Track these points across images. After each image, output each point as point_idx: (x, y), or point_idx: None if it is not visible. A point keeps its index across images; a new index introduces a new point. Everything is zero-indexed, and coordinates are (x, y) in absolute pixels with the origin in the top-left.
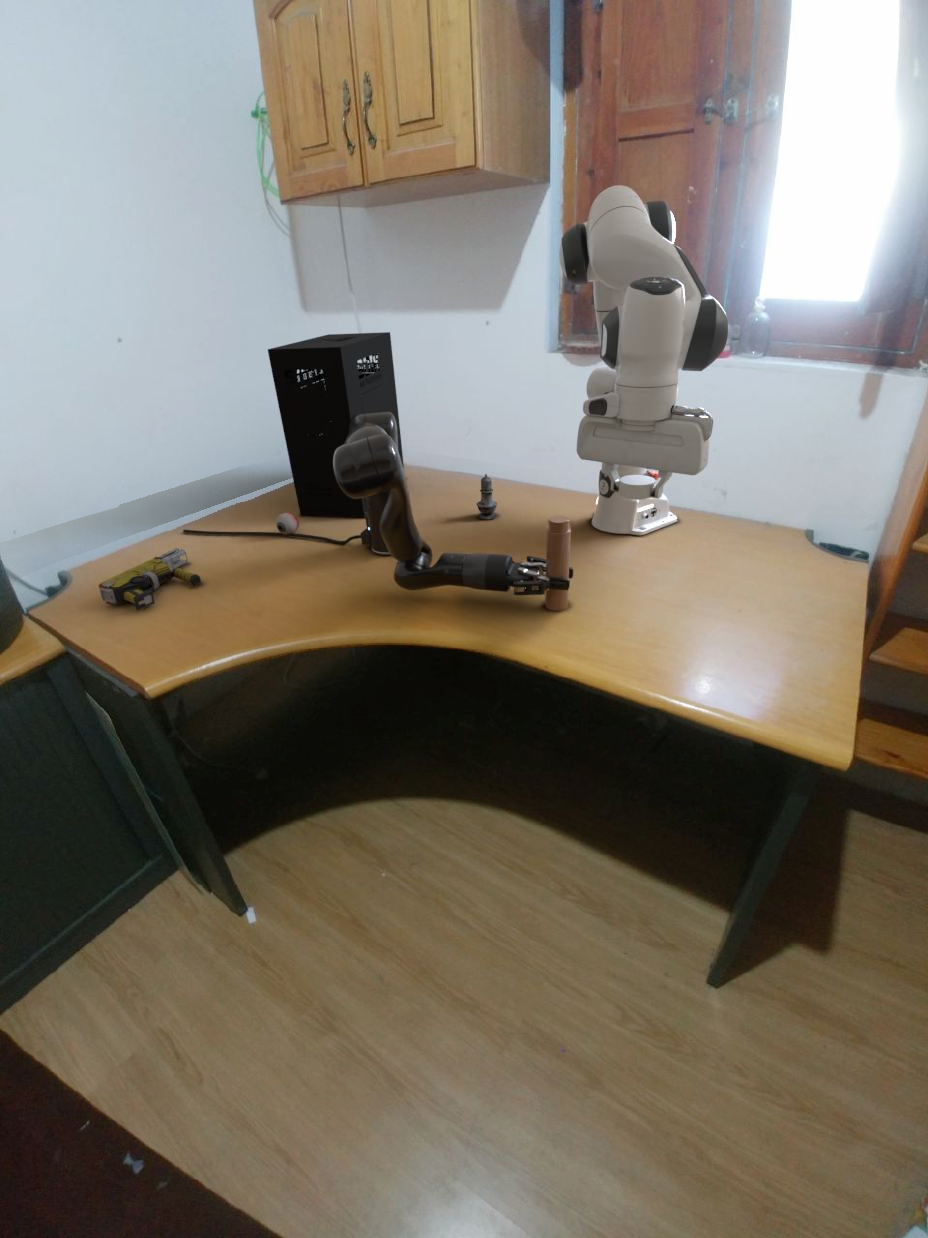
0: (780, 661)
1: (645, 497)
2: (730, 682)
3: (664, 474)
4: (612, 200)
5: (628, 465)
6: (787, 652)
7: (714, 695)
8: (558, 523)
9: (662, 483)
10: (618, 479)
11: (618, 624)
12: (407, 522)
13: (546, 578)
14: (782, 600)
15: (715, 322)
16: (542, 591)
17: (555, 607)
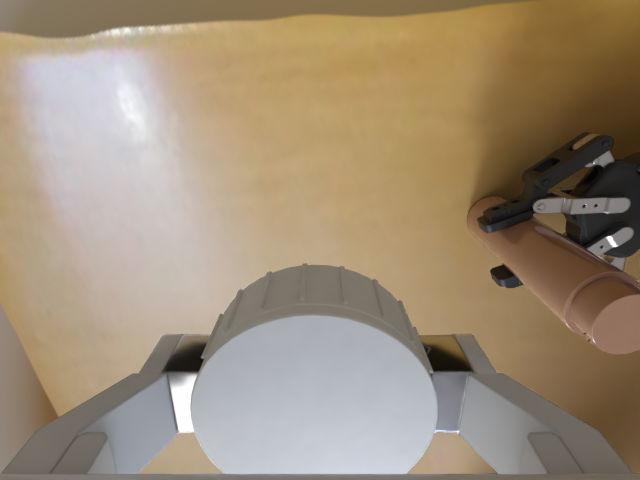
0: (77, 252)
1: (227, 309)
2: (104, 146)
3: (36, 459)
4: None
5: (380, 474)
6: (83, 282)
7: (104, 90)
8: (619, 296)
9: (95, 399)
10: (456, 410)
11: (351, 218)
12: None
13: (540, 204)
14: None
15: None
16: (528, 173)
17: (486, 200)
